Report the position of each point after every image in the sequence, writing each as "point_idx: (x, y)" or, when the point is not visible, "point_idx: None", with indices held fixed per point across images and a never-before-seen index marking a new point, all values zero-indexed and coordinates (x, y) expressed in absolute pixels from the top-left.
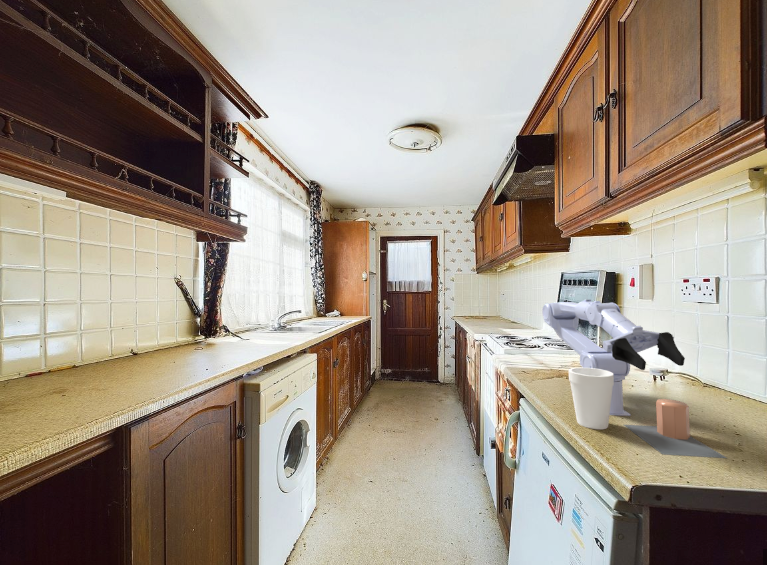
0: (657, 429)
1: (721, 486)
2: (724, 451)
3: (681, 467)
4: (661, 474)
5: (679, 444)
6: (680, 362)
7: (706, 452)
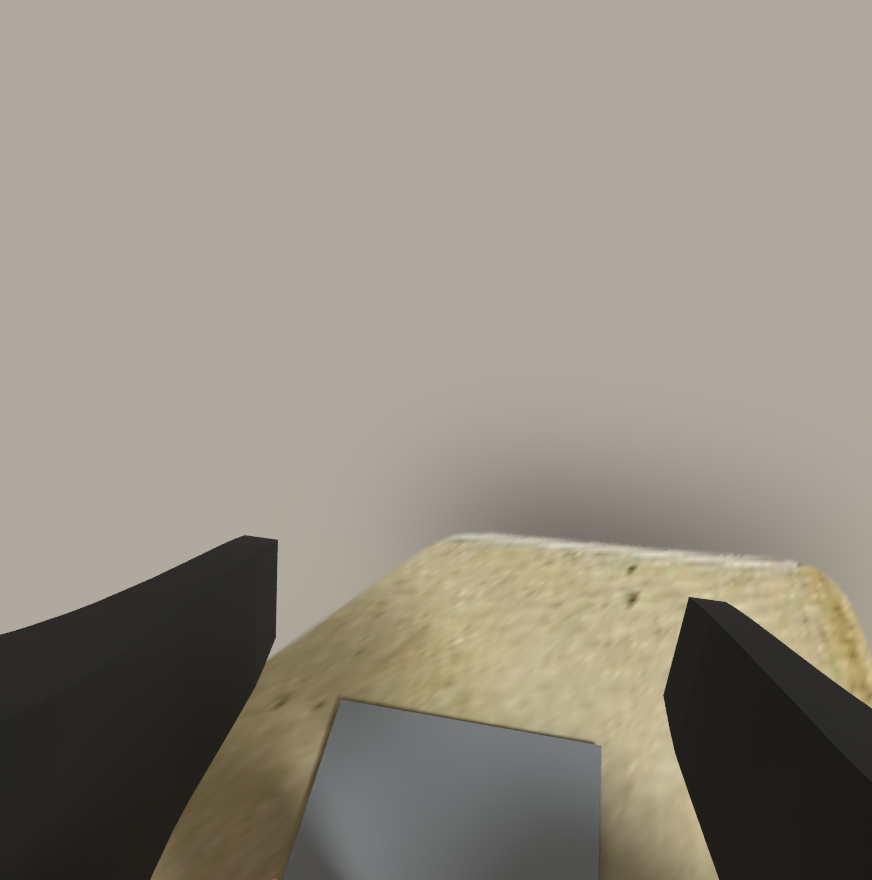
0: None
1: (542, 547)
2: (258, 790)
3: (583, 655)
4: None
5: (427, 859)
6: (275, 597)
7: (376, 755)
